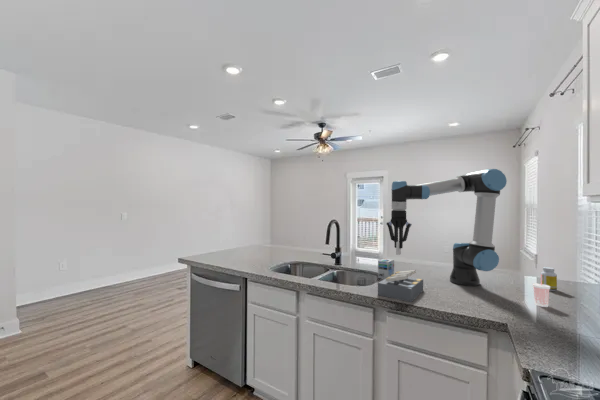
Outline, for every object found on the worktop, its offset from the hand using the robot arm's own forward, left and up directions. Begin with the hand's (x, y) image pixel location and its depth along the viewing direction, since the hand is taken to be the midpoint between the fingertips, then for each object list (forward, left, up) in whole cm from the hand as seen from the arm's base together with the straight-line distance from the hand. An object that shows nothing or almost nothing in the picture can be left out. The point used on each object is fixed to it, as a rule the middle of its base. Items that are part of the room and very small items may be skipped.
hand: (398, 254), depth 150 cm
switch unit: (-3, +4, -19) cm, 19 cm away
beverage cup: (-59, -18, -19) cm, 64 cm away
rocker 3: (-3, -3, -10) cm, 11 cm away
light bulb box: (+14, -21, -19) cm, 31 cm away
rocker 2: (-3, +4, -10) cm, 11 cm away
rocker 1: (-3, +11, -10) cm, 15 cm away
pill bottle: (-64, -52, -19) cm, 84 cm away
